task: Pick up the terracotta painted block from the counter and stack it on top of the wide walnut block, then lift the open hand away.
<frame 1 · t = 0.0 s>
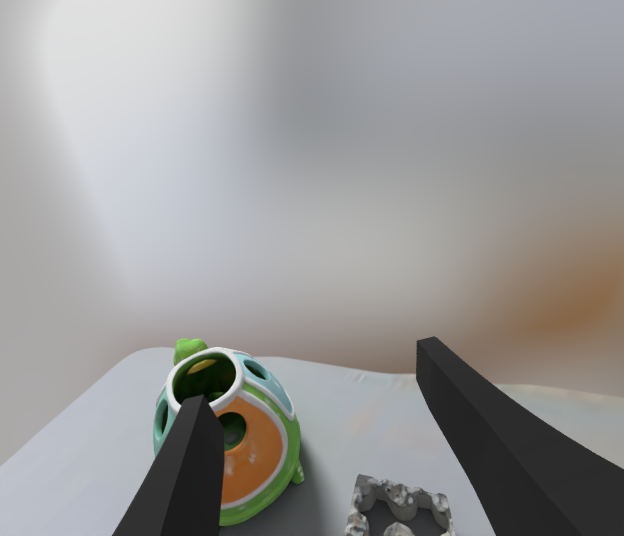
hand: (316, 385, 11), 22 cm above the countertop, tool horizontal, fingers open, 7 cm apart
turtle holder: (237, 451, 33), on the countertop
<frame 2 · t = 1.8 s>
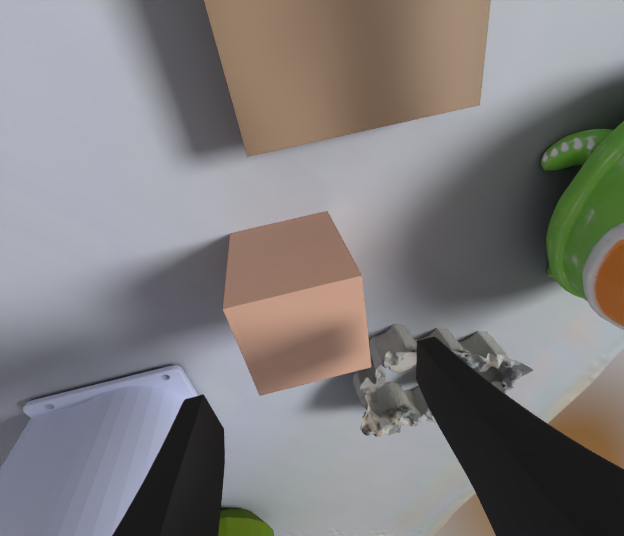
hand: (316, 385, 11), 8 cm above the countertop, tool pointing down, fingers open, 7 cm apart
apple: (220, 521, 33), on the countertop
egg carton: (421, 356, 24), on the countertop
terracotta block: (289, 262, 18), on the countertop
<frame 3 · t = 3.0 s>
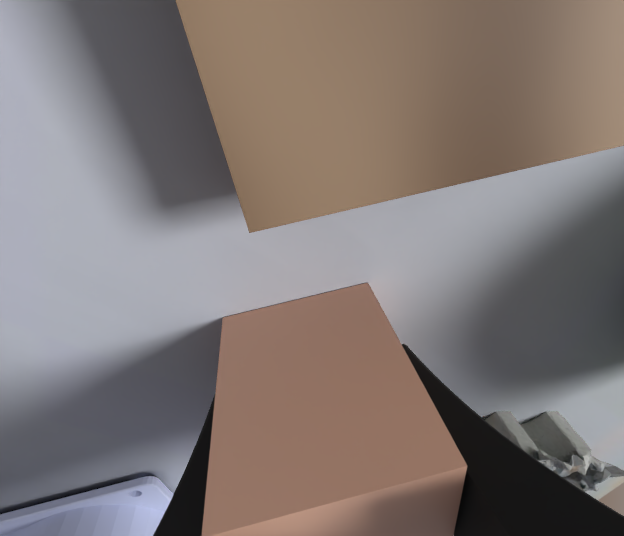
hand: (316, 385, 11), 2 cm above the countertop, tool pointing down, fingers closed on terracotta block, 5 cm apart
egg carton: (469, 438, 19), on the countertop
terracotta block: (308, 350, 12), on the countertop, touching gripper
when the fingers open (6 cm above the countertop, at t = 7.1 s): terracotta block drops 1 cm, resting on walnut block.
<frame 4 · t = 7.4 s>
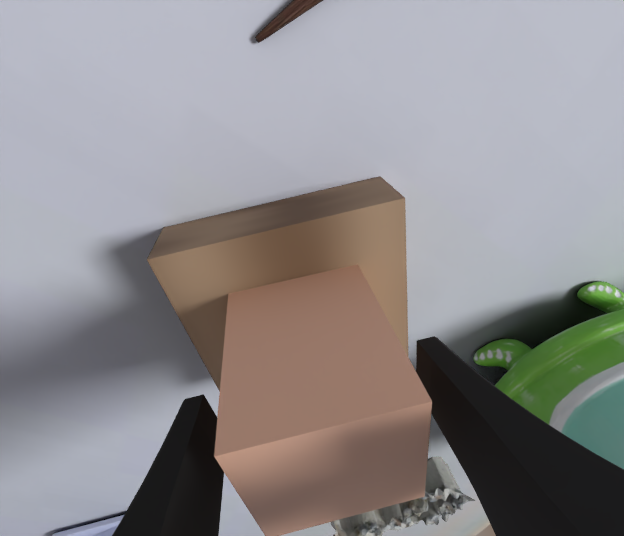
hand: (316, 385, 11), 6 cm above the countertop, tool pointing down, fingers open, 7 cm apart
egg carton: (385, 473, 28), on the countertop
terracotta block: (304, 326, 14), point 2 cm above the countertop, touching walnut block
turtle holder: (567, 342, 22), on the countertop
walnut block: (294, 282, 16), on the countertop, touching terracotta block
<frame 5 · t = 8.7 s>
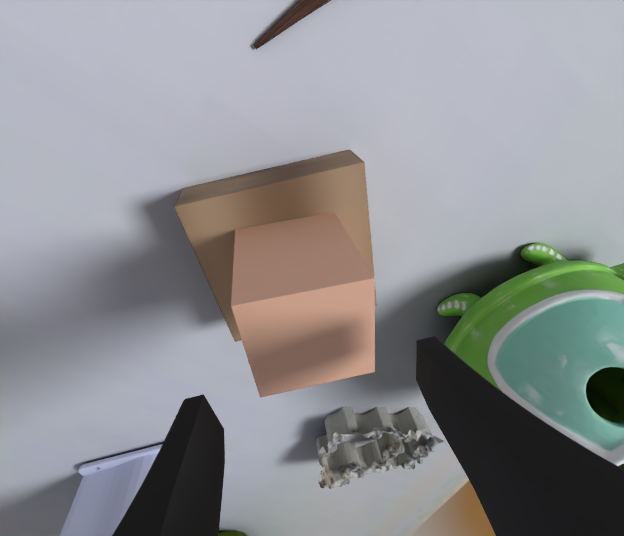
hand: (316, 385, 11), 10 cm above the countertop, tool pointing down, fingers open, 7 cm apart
egg carton: (368, 423, 32), on the countertop
terracotta block: (292, 263, 17), point 2 cm above the countertop, touching walnut block
turtle holder: (518, 299, 26), on the countertop
walnut block: (285, 238, 20), on the countertop, touching terracotta block
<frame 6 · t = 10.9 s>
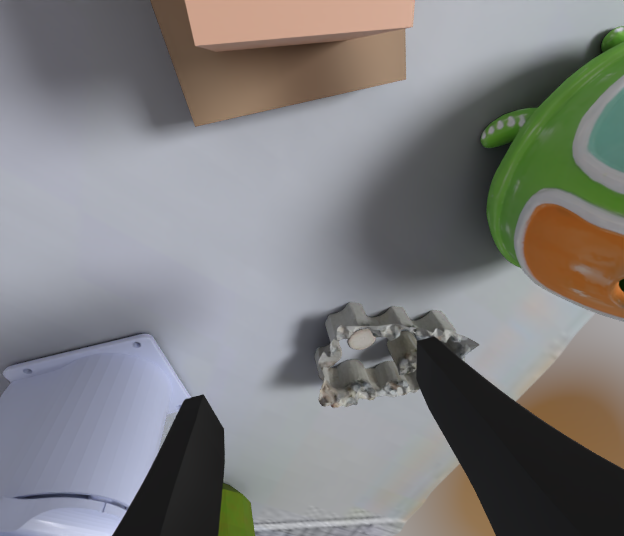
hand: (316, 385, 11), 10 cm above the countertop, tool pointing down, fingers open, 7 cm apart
apple: (201, 495, 34), on the countertop
egg carton: (380, 334, 26), on the countertop
turtle holder: (586, 140, 20), on the countertop
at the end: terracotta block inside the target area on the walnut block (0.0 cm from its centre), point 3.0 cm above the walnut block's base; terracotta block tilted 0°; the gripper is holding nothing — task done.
